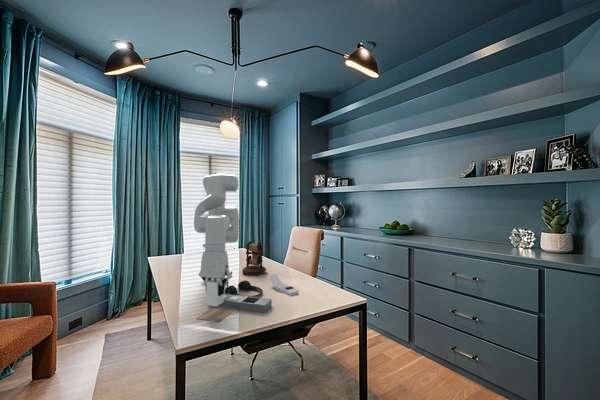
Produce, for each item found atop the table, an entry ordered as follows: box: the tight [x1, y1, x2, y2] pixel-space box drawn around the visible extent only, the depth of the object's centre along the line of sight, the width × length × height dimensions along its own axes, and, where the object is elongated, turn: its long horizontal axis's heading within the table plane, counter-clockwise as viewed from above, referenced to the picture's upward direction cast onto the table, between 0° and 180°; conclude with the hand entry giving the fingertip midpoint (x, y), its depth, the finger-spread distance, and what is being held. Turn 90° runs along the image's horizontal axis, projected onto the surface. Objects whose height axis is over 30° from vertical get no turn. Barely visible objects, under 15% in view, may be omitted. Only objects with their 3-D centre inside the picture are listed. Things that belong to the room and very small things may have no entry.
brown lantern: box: [241, 240, 267, 276], centre depth 170 cm, size 15×15×20 cm
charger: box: [205, 278, 223, 307], centre depth 106 cm, size 5×5×11 cm
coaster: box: [195, 307, 234, 323], centre depth 106 cm, size 10×10×1 cm
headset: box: [224, 271, 264, 298], centre depth 130 cm, size 14×10×20 cm
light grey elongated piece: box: [266, 273, 299, 297], centre depth 137 cm, size 6×6×25 cm
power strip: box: [208, 293, 272, 314], centre depth 115 cm, size 26×7×4 cm, turn 74°
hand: (215, 293), depth 106 cm, fingers closed on charger, 4 cm apart
